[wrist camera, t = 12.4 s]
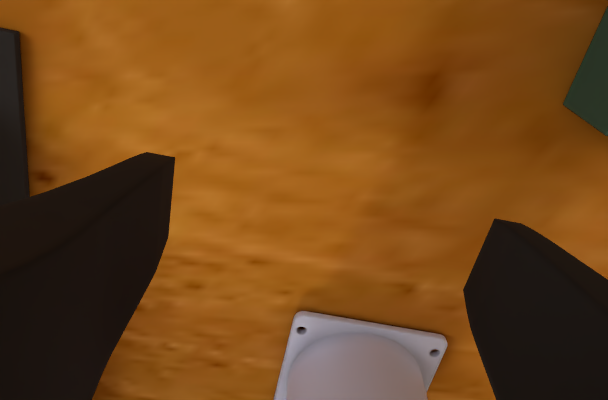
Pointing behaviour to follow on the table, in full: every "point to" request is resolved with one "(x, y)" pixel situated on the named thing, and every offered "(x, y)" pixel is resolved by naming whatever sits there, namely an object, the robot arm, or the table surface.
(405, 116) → the table surface
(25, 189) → the mat
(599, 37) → the base block
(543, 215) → the table surface
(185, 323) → the table surface
